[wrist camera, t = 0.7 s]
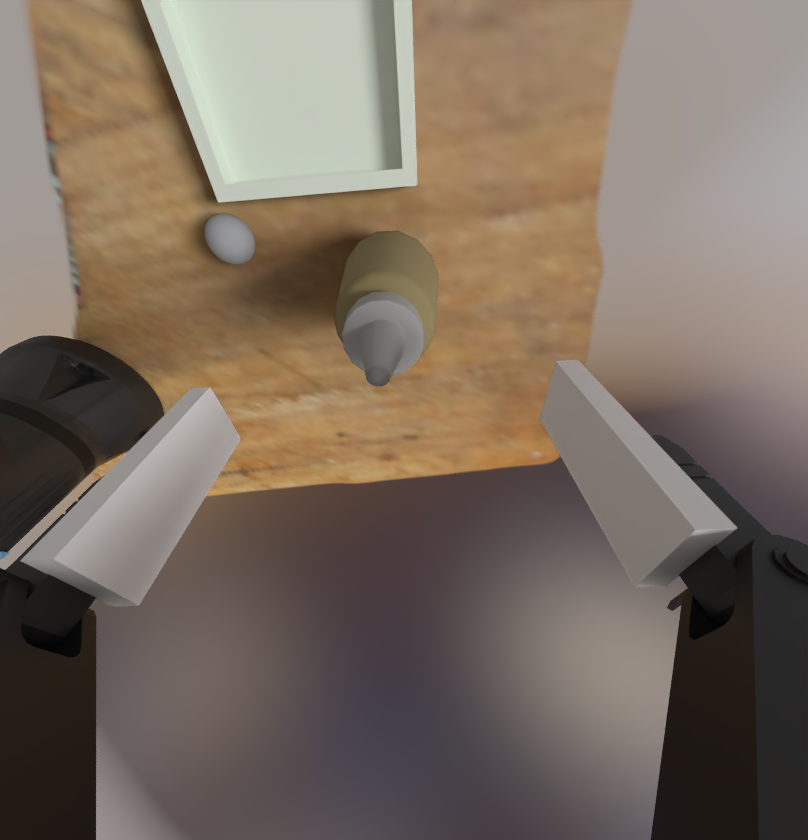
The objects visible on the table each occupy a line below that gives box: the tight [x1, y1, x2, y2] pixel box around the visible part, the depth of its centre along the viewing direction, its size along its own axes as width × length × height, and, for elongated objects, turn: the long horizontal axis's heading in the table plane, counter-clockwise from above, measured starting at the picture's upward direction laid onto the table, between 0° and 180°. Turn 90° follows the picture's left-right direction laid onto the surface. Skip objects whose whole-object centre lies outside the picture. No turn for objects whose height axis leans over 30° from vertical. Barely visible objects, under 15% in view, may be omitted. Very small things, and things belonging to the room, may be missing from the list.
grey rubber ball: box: [205, 213, 255, 264], centre depth 24 cm, size 4×4×4 cm
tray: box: [141, 0, 417, 203], centre depth 18 cm, size 15×15×2 cm
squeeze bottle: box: [334, 231, 438, 386], centre depth 21 cm, size 8×8×18 cm
